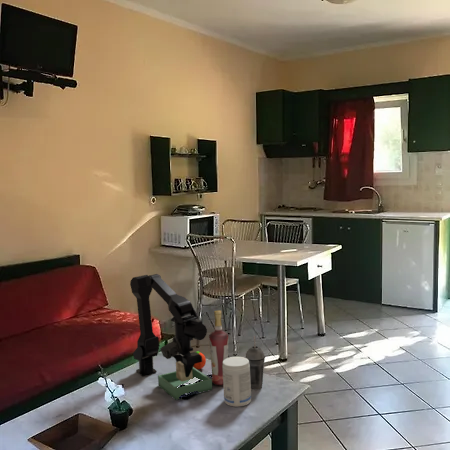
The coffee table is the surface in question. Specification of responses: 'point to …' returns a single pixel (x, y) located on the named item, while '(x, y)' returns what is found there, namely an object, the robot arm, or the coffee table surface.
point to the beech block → (182, 372)
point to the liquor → (218, 349)
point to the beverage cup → (256, 366)
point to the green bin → (171, 383)
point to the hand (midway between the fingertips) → (184, 374)
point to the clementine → (201, 364)
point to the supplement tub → (236, 381)
